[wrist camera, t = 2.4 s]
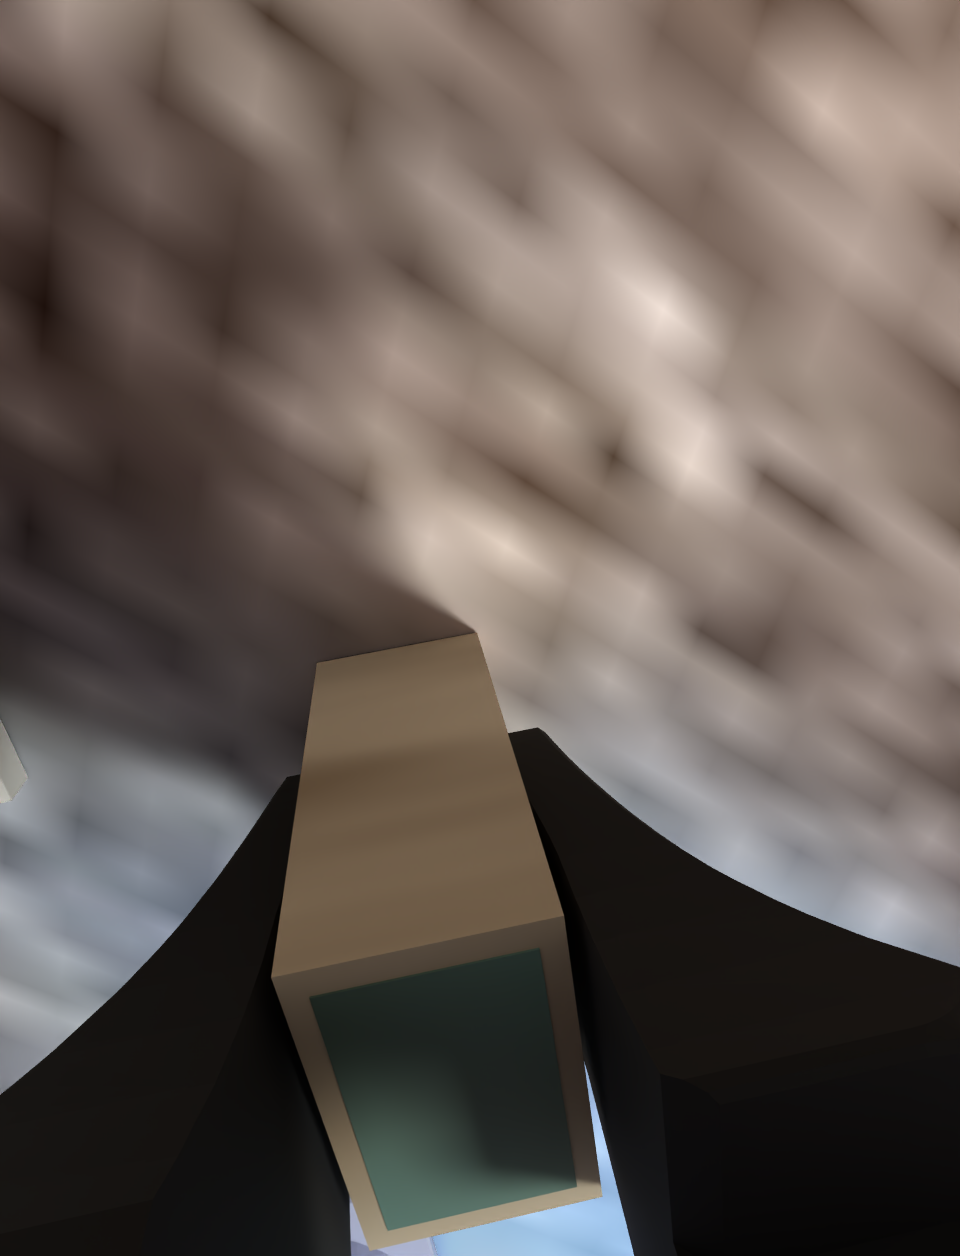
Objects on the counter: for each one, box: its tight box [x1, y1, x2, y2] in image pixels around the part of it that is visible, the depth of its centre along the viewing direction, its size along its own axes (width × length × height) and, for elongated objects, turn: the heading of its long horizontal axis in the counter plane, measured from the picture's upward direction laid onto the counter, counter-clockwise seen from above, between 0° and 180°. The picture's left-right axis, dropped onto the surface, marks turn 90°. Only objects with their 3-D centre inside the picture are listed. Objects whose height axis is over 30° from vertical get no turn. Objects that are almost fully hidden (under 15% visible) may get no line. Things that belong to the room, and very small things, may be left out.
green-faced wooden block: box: [271, 633, 602, 1251], centre depth 10 cm, size 4×2×6 cm, turn 9°
